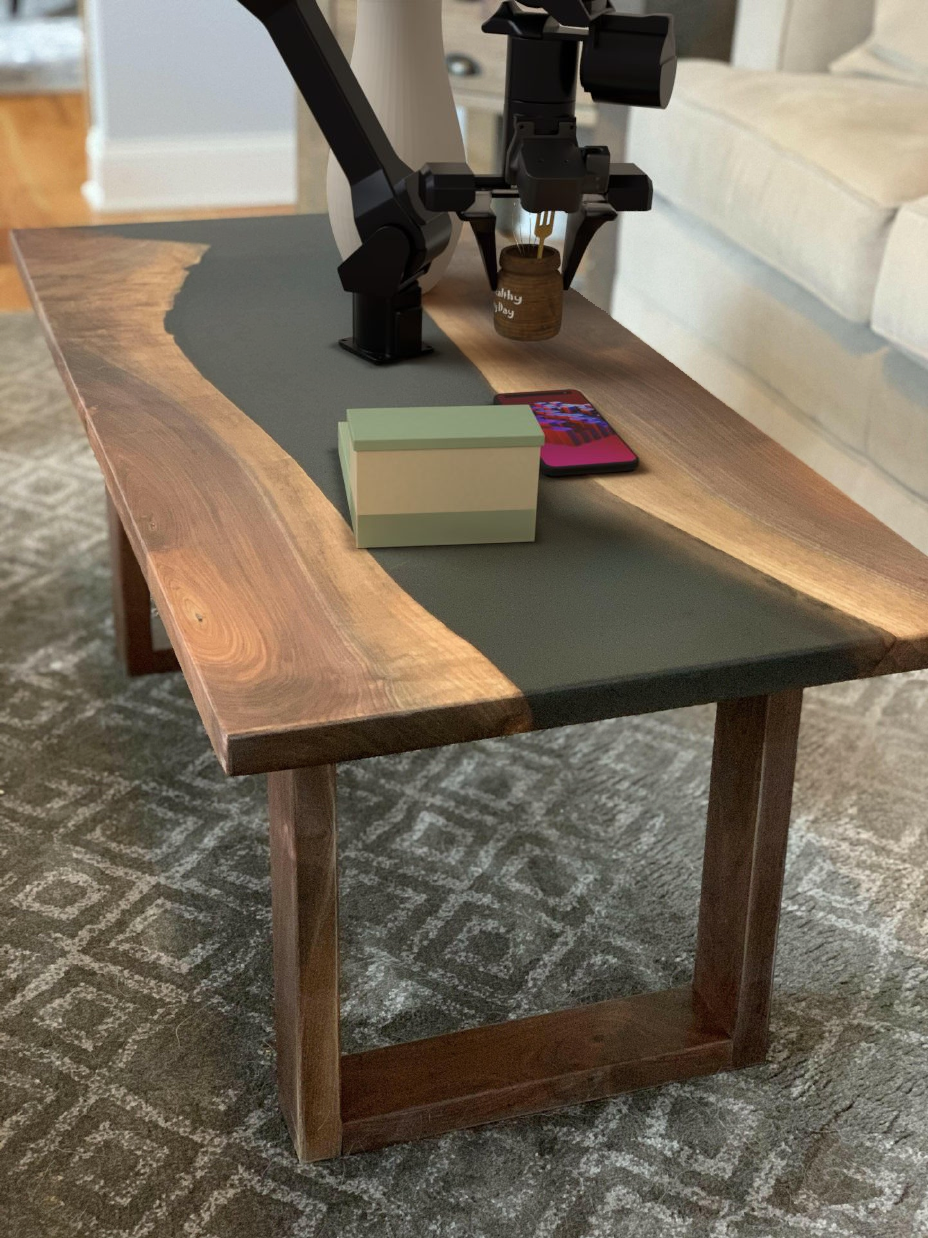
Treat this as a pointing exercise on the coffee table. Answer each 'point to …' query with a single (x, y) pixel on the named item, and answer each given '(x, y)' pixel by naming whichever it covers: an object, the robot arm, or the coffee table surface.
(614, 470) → the smartphone
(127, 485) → the coffee table surface
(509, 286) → the utensil holder
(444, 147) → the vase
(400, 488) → the beige rectangular box
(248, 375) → the coffee table surface
